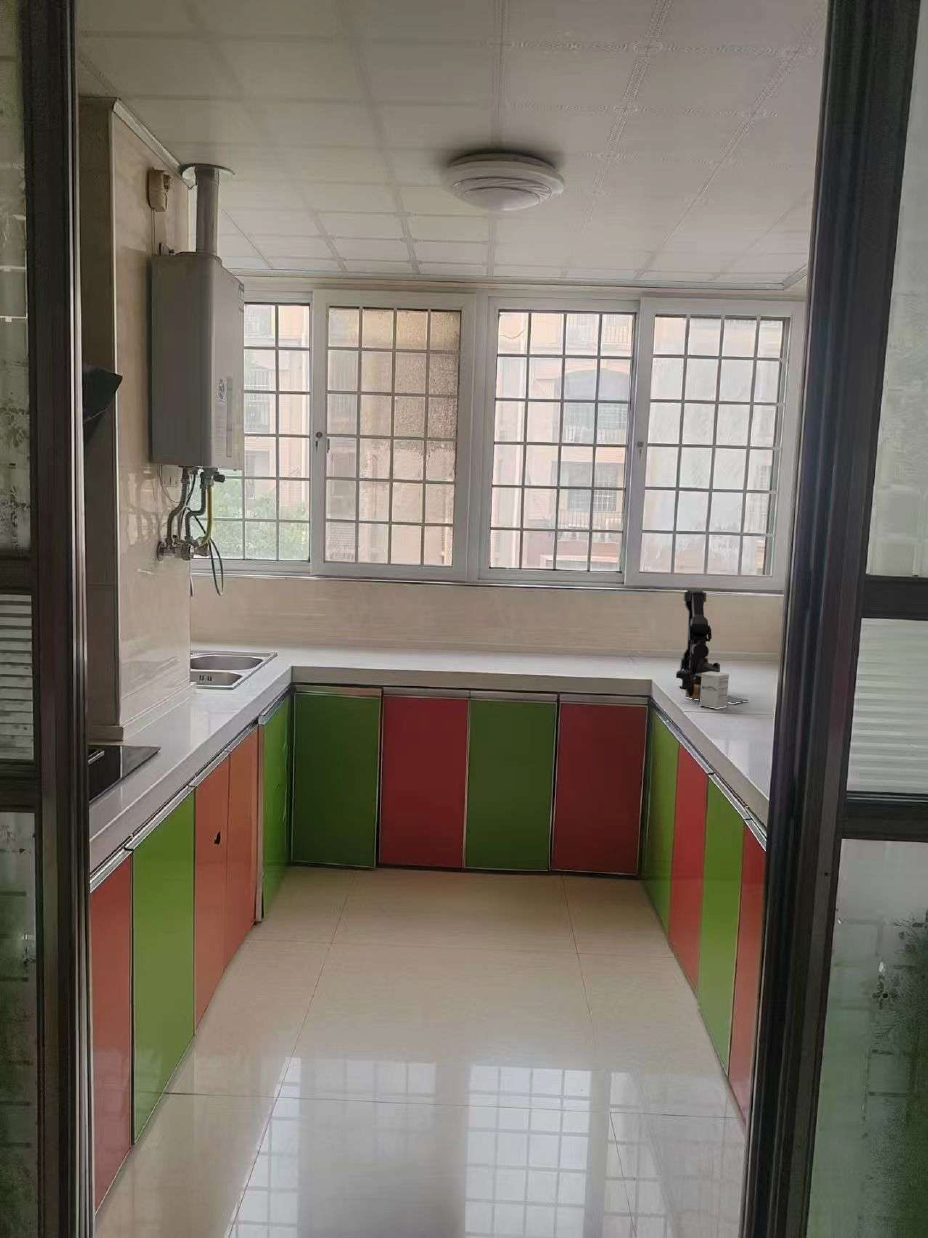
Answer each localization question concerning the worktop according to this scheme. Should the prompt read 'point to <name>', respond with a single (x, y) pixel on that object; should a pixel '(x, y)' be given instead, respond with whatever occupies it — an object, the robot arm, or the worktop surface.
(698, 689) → the walnut block
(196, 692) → the worktop surface
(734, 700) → the slate mat
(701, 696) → the supplement box
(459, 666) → the worktop surface
